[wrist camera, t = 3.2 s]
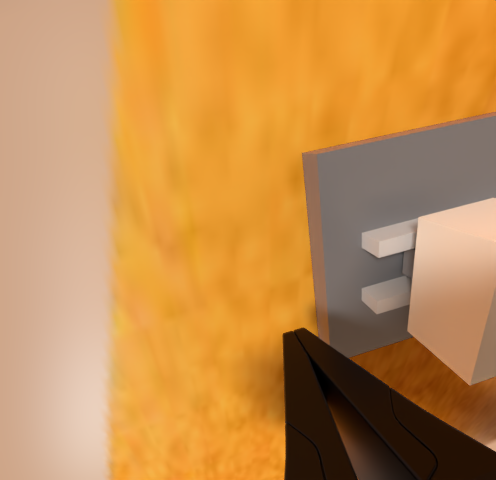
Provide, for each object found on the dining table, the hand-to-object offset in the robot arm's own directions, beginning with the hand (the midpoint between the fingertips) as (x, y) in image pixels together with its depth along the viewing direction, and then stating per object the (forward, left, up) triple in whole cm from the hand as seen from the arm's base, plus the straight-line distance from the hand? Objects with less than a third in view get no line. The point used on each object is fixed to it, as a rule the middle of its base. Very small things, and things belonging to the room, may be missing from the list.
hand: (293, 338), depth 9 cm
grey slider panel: (0, -14, -4) cm, 15 cm away
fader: (0, -8, -3) cm, 8 cm away
